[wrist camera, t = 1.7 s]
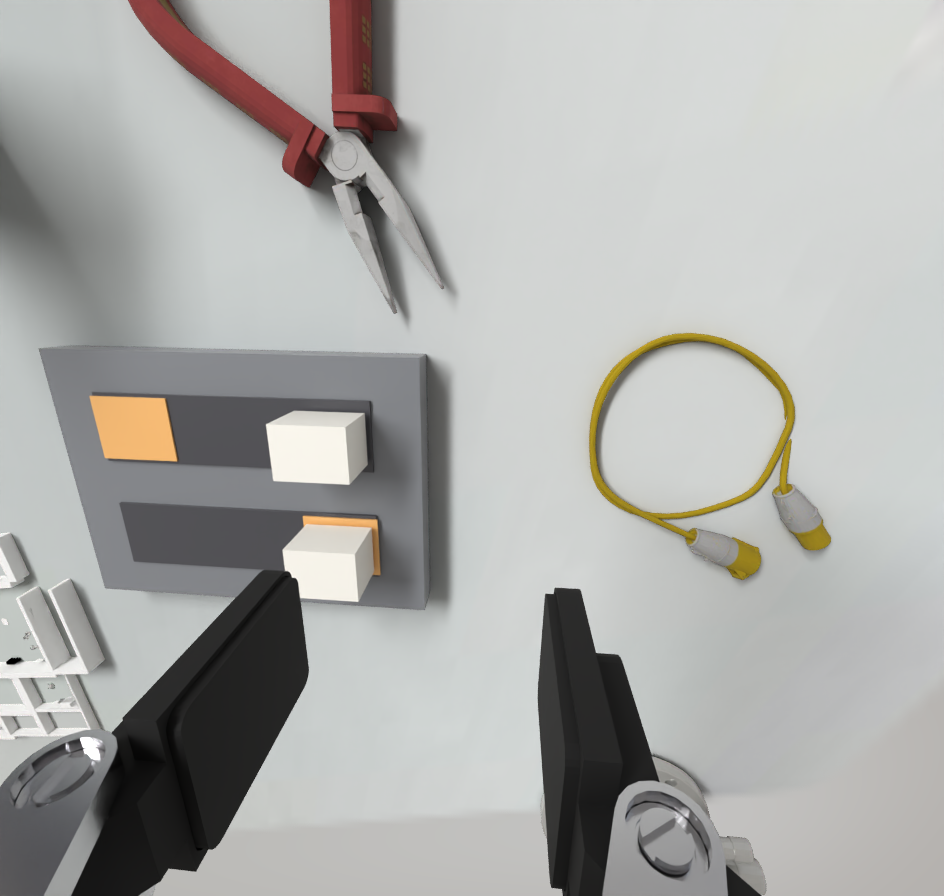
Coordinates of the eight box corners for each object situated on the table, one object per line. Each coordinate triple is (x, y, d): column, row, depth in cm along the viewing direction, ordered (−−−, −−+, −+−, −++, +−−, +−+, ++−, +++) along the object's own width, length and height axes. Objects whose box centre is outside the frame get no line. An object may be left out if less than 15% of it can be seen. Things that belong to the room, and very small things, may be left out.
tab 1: (364, 413, 24) (345, 427, 22) (367, 464, 25) (349, 484, 22) (294, 410, 25) (265, 424, 22) (299, 461, 26) (273, 481, 23)
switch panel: (426, 354, 26) (418, 358, 23) (430, 591, 30) (423, 613, 28) (71, 345, 27) (33, 348, 25) (129, 571, 32) (101, 591, 30)
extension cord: (623, 590, 30) (630, 610, 28) (561, 365, 26) (565, 370, 24) (818, 547, 28) (841, 564, 26) (786, 294, 24) (810, 293, 22)
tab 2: (371, 527, 26) (354, 554, 24) (374, 571, 27) (358, 602, 25) (306, 524, 27) (282, 549, 24) (311, 567, 28) (288, 597, 25)
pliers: (335, 348, 26) (316, 353, 24) (112, -54, 21) (58, -104, 19) (520, 250, 24) (522, 243, 21) (318, -228, 19) (288, -314, 16)
